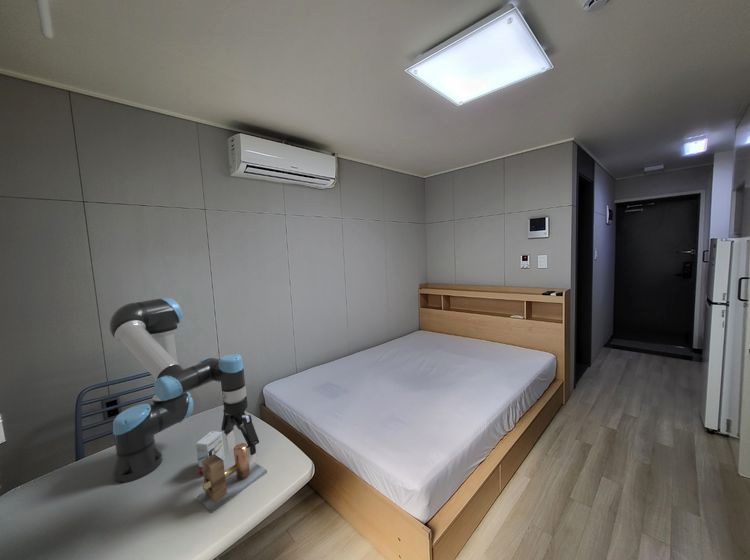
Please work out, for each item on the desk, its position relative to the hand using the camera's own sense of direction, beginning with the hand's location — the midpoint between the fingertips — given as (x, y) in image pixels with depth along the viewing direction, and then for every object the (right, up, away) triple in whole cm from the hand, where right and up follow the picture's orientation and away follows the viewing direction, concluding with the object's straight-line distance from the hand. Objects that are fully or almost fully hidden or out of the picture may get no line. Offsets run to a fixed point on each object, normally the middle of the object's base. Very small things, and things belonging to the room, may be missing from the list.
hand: (241, 455), depth 108 cm
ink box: (-15, -9, +9) cm, 20 cm away
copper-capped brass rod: (-3, -8, -4) cm, 9 cm away
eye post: (-2, -9, -2) cm, 10 cm away
